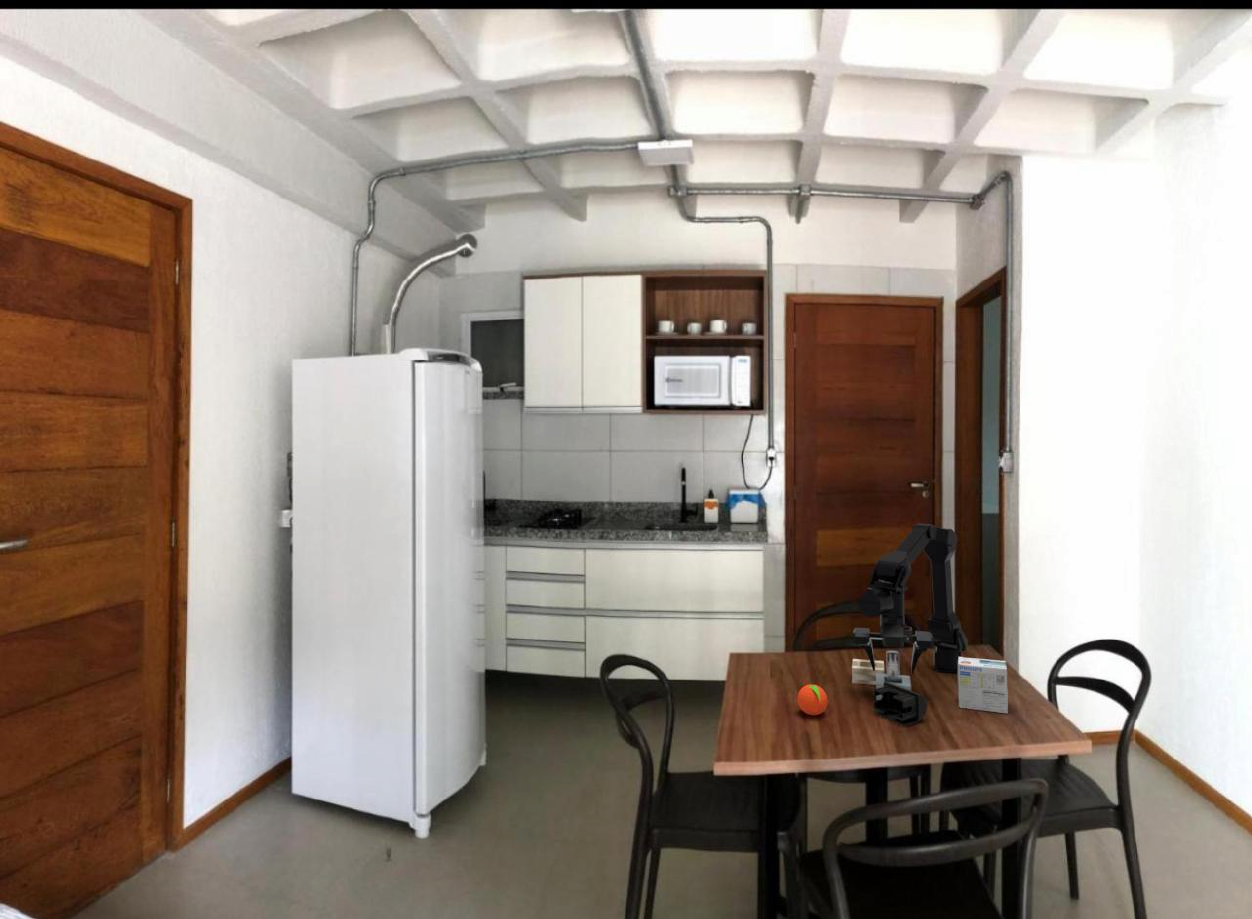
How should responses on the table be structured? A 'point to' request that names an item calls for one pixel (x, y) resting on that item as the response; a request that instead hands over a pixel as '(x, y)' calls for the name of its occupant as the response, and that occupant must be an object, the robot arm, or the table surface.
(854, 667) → the birch block
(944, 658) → the robot arm
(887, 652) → the cylinder
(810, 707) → the clementine
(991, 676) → the light bulb box
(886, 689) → the end cap
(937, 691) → the table surface
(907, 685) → the slate block
